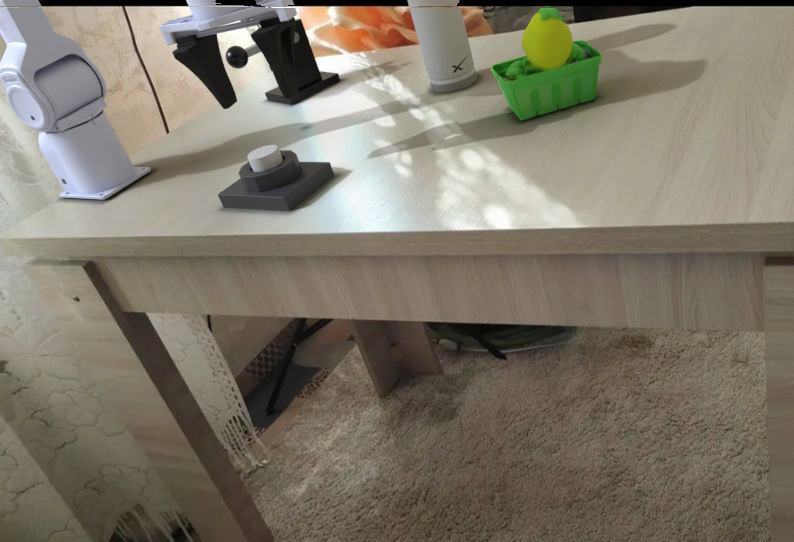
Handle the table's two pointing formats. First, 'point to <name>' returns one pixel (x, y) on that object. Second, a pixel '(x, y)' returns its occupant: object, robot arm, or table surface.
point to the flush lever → (240, 55)
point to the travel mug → (443, 44)
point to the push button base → (276, 184)
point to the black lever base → (304, 71)
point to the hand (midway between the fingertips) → (260, 100)
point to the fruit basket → (548, 68)
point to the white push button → (265, 158)
